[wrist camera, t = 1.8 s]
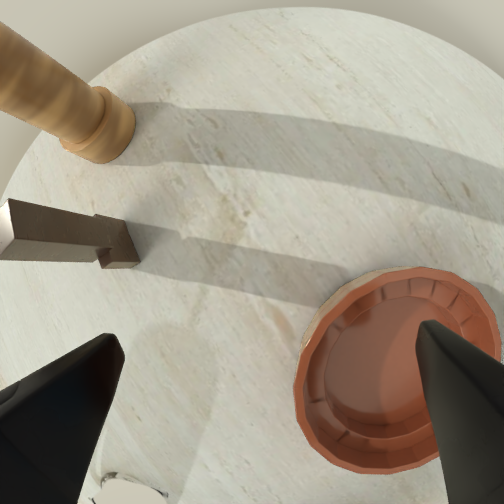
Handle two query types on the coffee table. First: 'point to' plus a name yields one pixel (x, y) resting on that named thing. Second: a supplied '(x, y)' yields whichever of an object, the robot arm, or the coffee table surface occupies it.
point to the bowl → (381, 366)
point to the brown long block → (63, 236)
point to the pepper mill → (61, 101)
